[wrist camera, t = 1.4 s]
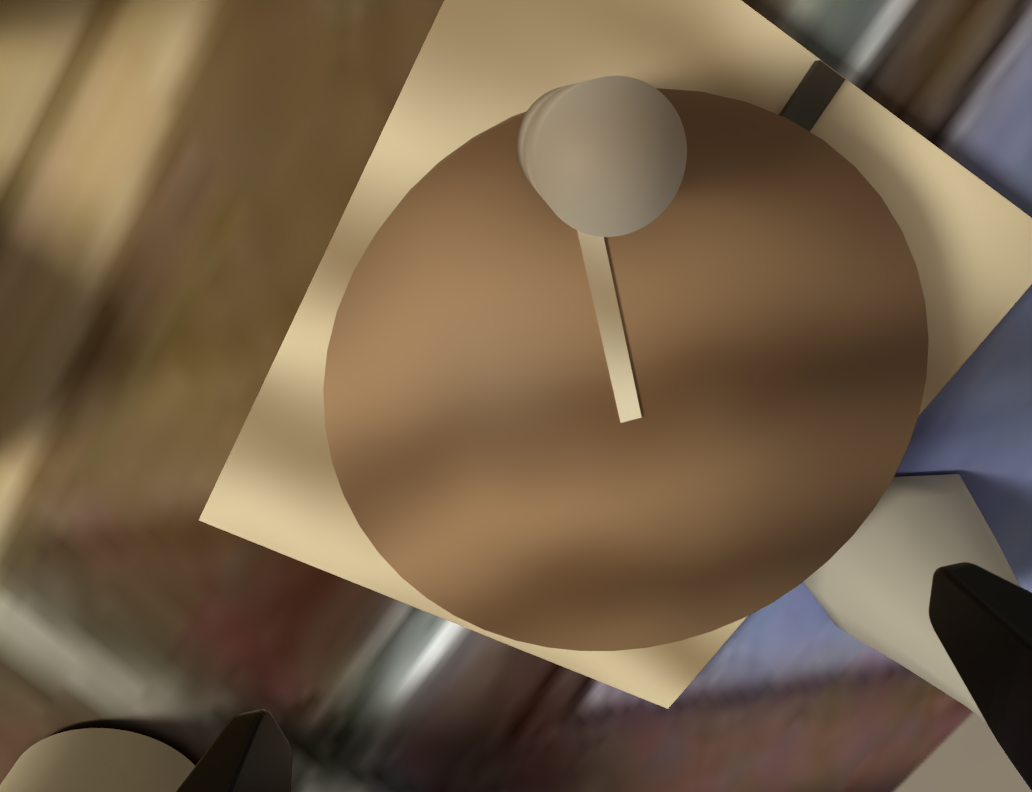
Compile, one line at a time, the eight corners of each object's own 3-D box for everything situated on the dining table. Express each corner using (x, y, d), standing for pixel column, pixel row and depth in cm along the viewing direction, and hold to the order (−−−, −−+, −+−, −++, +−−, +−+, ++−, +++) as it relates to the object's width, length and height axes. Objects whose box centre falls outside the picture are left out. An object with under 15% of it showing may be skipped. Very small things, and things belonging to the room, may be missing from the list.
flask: (977, 442, 25) (1278, 639, 15) (987, 590, 27) (1247, 831, 18) (784, 504, 25) (965, 730, 16) (814, 643, 28) (982, 904, 19)
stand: (658, 679, 28) (670, 715, 26) (214, 496, 23) (195, 525, 22) (1028, 235, 22) (1074, 245, 20) (517, -142, 17) (523, -169, 15)
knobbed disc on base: (896, 541, 24) (1055, 700, 17) (436, 658, 25) (424, 853, 18) (873, -5, 17) (1117, -74, 11) (237, 180, 18) (106, 220, 11)
